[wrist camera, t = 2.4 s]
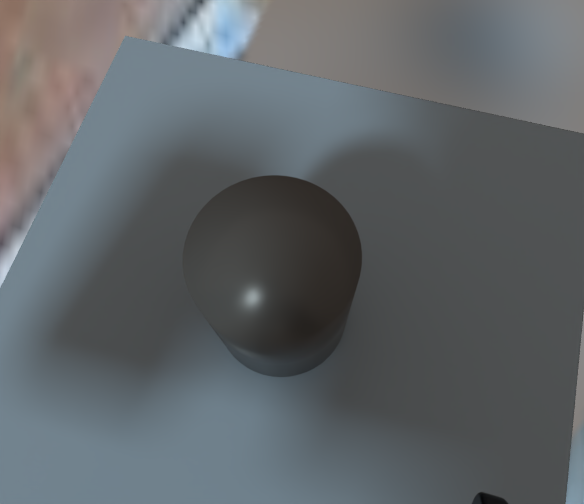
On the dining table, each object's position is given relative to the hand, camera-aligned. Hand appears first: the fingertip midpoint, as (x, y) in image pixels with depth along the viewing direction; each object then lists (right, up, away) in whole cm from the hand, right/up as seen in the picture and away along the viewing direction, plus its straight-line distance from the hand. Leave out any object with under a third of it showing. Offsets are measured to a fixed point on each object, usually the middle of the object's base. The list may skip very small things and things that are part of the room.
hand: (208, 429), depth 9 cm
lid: (+1, +1, +8) cm, 8 cm away
